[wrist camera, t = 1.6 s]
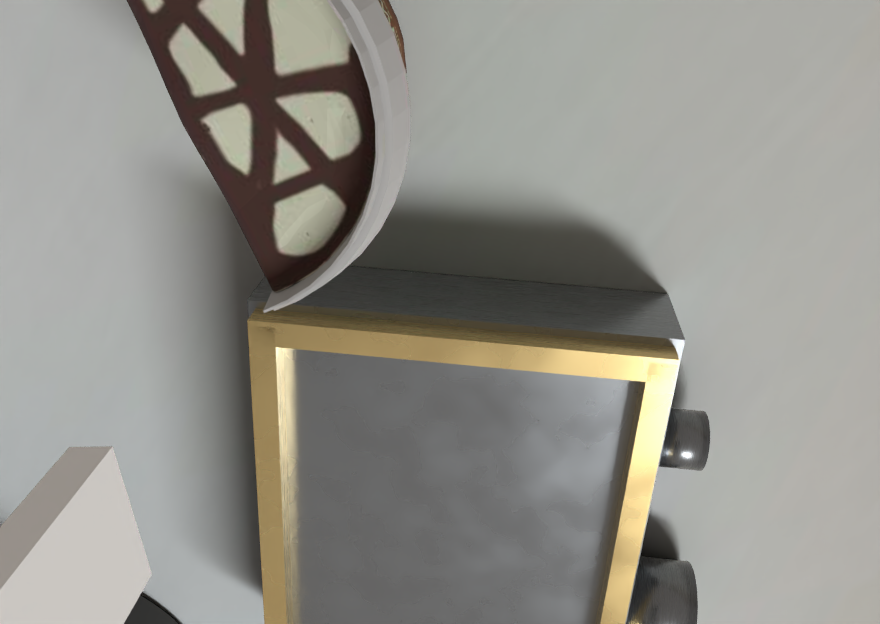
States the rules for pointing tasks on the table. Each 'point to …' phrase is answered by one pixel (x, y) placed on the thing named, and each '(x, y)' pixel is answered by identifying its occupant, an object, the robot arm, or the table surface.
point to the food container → (291, 121)
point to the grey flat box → (467, 451)
